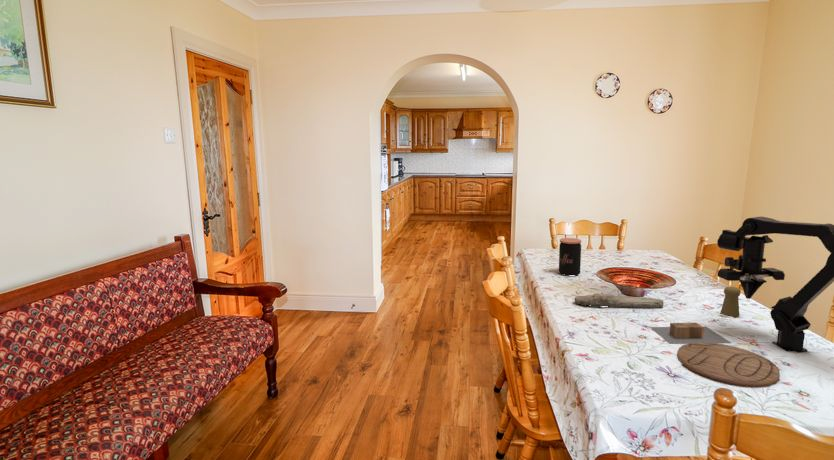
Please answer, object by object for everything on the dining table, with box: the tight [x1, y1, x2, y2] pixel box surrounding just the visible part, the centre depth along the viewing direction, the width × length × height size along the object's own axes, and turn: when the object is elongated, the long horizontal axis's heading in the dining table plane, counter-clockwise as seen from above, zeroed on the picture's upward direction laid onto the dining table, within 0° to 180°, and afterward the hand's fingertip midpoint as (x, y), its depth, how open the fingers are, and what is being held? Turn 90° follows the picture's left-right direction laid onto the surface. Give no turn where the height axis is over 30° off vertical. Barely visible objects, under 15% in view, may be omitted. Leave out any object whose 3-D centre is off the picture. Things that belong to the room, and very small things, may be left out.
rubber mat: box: [649, 326, 732, 345], centre depth 153 cm, size 14×20×1 cm
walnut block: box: [669, 322, 704, 339], centre depth 151 cm, size 4×4×9 cm
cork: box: [720, 286, 742, 318], centre depth 169 cm, size 6×6×11 cm
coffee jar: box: [558, 237, 582, 276], centre depth 230 cm, size 11×11×18 cm
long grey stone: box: [574, 293, 665, 309], centre depth 184 cm, size 35×5×10 cm
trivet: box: [676, 342, 781, 388], centre depth 132 cm, size 25×25×2 cm
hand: (747, 298), depth 152 cm, fingers closed
